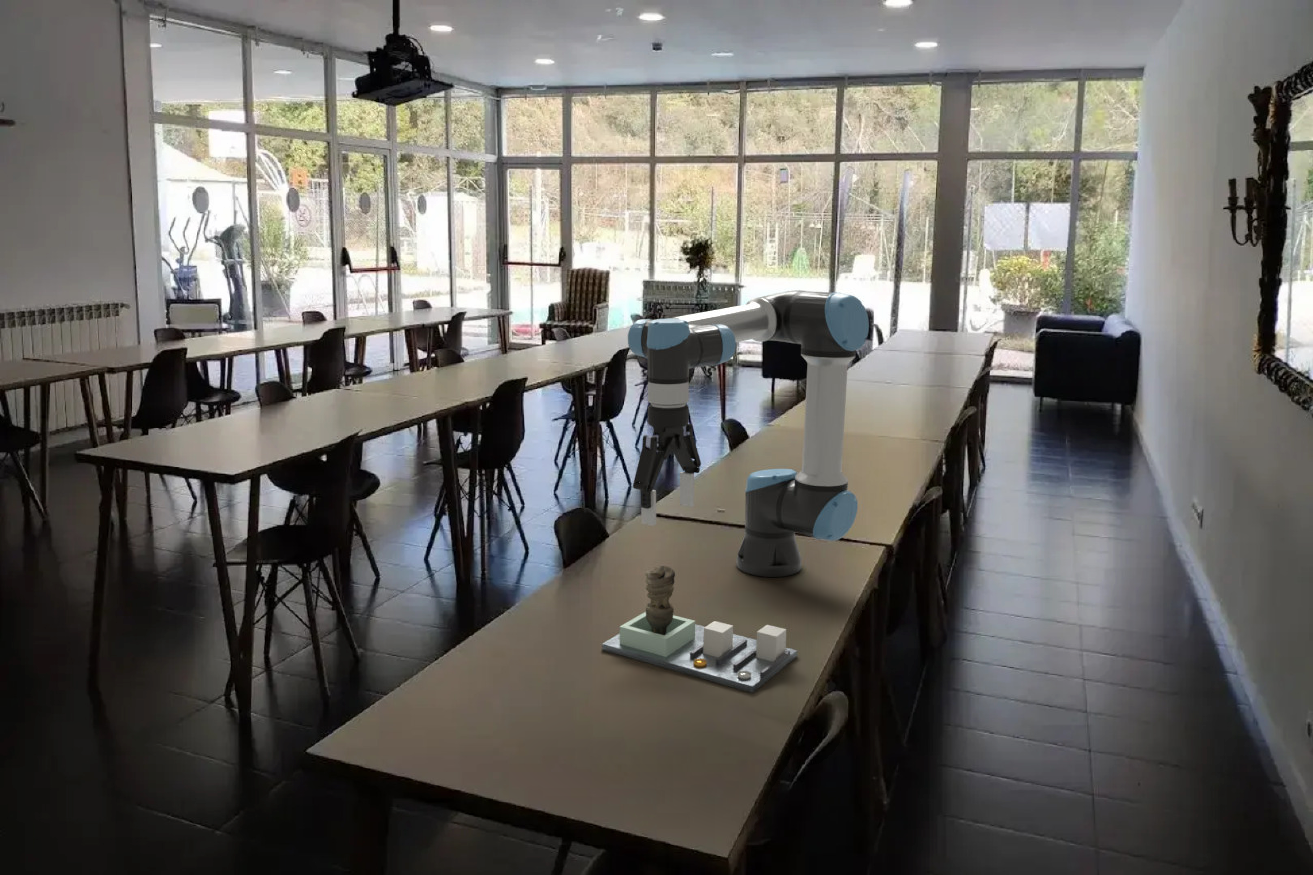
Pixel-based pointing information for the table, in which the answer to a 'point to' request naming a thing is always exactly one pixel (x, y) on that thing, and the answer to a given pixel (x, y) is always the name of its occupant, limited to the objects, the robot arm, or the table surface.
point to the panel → (712, 661)
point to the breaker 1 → (717, 639)
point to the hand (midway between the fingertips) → (668, 514)
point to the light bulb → (660, 598)
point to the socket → (657, 635)
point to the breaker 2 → (770, 642)
